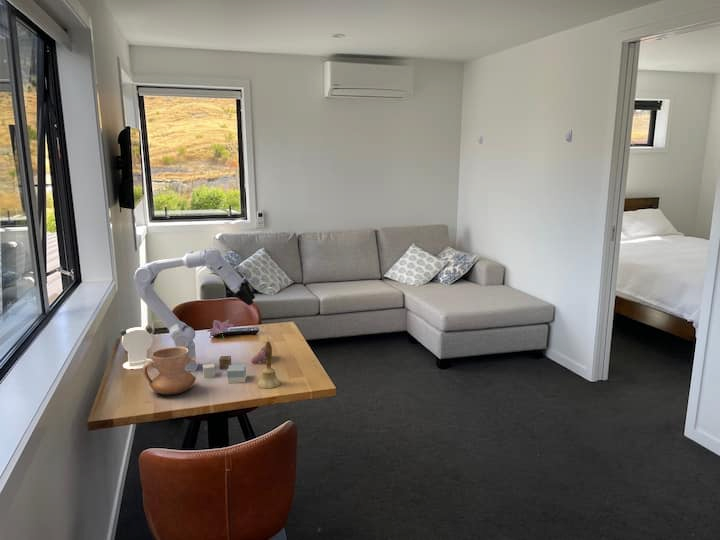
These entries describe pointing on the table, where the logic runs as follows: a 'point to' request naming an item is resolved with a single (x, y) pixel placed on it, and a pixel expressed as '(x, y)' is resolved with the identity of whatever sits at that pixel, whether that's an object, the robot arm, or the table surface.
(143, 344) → the panda figurine
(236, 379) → the tower base
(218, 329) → the lily
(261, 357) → the video game controller
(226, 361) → the walnut cube
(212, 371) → the cream cube
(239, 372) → the tower top
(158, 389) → the ceramic jug
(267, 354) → the hand bell
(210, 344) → the table surface
